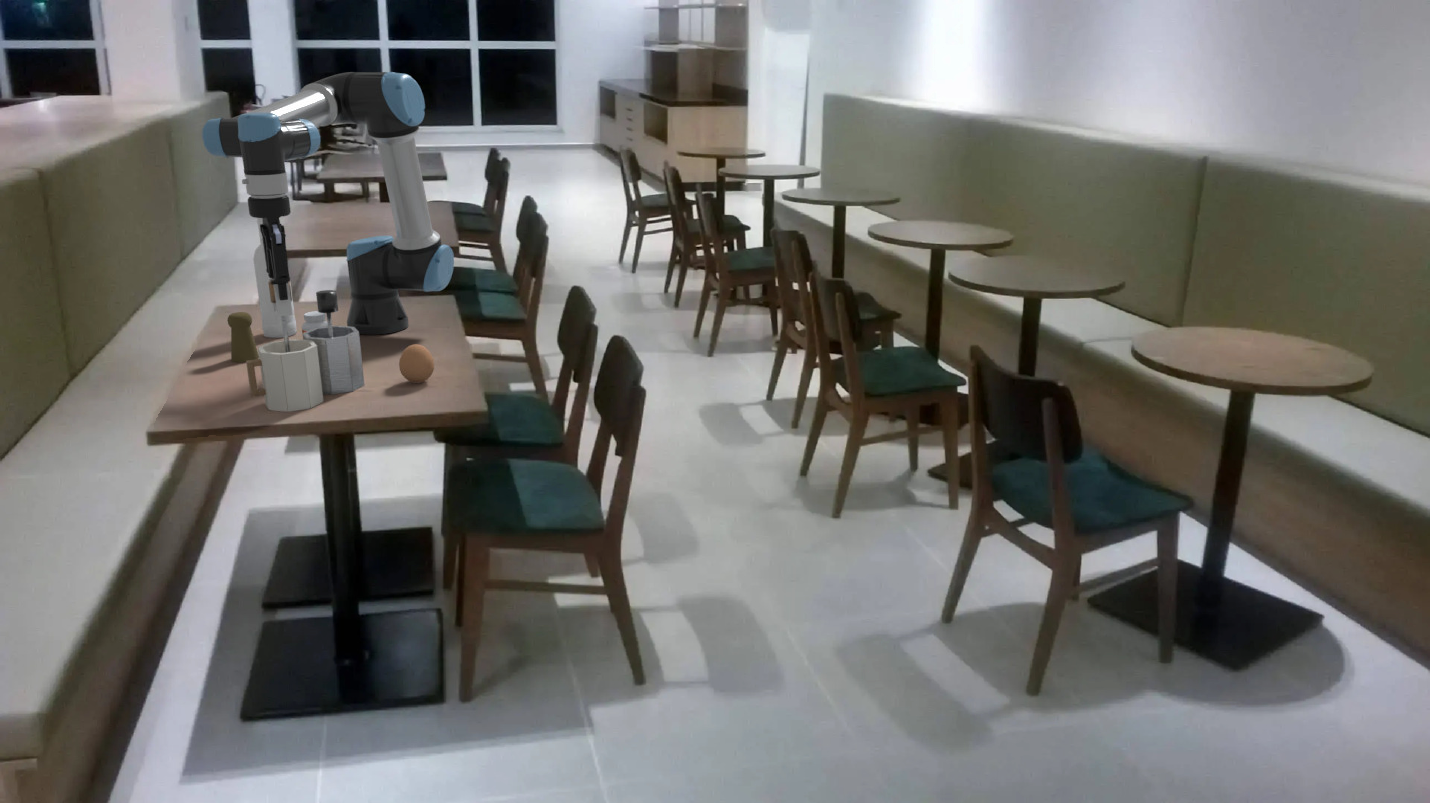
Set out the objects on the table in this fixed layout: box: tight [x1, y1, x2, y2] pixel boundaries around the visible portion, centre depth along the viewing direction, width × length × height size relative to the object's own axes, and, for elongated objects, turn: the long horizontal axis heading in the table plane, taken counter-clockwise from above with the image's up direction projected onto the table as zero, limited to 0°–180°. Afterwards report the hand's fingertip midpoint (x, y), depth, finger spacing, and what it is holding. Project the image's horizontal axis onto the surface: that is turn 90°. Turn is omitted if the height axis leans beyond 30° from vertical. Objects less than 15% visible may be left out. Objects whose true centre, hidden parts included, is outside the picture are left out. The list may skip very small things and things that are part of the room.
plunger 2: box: [315, 289, 339, 338], centre depth 233 cm, size 7×7×18 cm
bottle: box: [252, 218, 297, 339], centre depth 273 cm, size 8×8×30 cm
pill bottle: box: [301, 310, 328, 334], centre depth 255 cm, size 6×6×11 cm
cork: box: [226, 311, 259, 363], centre depth 255 cm, size 6×6×11 cm
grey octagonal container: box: [302, 325, 365, 395], centre depth 235 cm, size 13×11×12 cm
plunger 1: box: [268, 280, 293, 353], centre depth 221 cm, size 7×7×18 cm
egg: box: [398, 343, 435, 384], centre depth 238 cm, size 7×7×8 cm
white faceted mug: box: [245, 338, 324, 413], centre depth 224 cm, size 13×11×12 cm
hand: (282, 312), depth 220 cm, fingers closed on plunger 1, 4 cm apart
